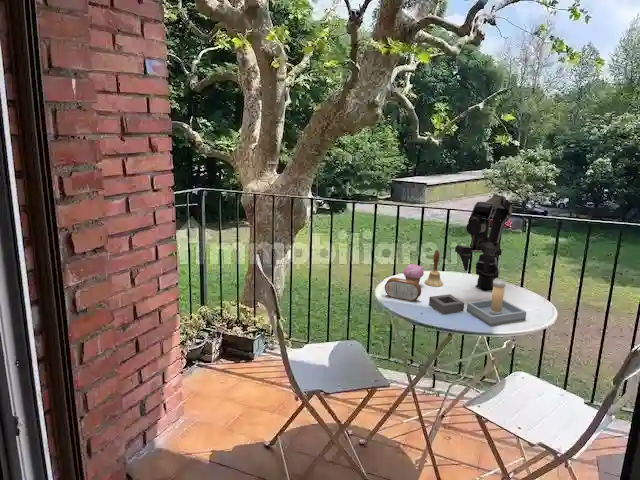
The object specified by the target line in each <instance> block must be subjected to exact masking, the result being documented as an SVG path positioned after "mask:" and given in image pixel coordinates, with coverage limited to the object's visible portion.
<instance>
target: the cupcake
mask: <svg viewBox="0 0 640 480" xmlns="http://www.w3.org/2000/svg"><path fill="white" fill-rule="evenodd" d="M403 275H404V277H405V280H411V281H415V282H417V283H418V284H419V285H420V280H421V278H422V277H424V275H425V274H424V268H423V267H422V266H420V265H418V264H413V263H412V264H411V263H410V264H408V265H407V266H406V267H405V268H404V270H403Z"/></svg>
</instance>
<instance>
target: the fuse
mask: <svg viewBox="0 0 640 480" xmlns="http://www.w3.org/2000/svg"><path fill="white" fill-rule="evenodd" d="M506 283H507V282H506V280H504V279H496V278H495V280H493V290H492V295H491V299H490V300H491V308H490V312H489V313H490V314H492V315H500V314H502V303H503V300H504V295H505V287H506Z"/></svg>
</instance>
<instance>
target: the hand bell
mask: <svg viewBox="0 0 640 480" xmlns="http://www.w3.org/2000/svg"><path fill="white" fill-rule="evenodd" d="M432 259H433V269H432V270H431V271H429V275H428V278H426V280H424V284H425V285H426V286H429V287H436V288H438V287H442V286H444V283H443V281H442V280H441V273H440V271H438V263H439V261H440V252H439V249H435V251H434V253H433V258H432Z"/></svg>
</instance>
